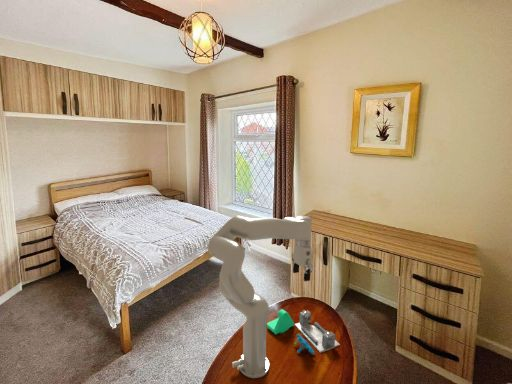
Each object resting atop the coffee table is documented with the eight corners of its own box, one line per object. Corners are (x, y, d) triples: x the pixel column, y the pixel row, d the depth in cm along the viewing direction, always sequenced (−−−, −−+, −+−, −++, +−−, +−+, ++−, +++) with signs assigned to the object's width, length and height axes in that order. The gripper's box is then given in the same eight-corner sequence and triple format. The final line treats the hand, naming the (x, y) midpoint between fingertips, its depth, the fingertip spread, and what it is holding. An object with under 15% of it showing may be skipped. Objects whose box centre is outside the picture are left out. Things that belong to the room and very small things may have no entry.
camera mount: (283, 319, 141) (284, 301, 140) (293, 327, 135) (294, 308, 133) (266, 328, 134) (266, 309, 133) (275, 336, 128) (276, 316, 126)
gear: (319, 355, 114) (305, 343, 111) (310, 366, 113) (295, 354, 110) (307, 339, 124) (294, 327, 121) (298, 348, 124) (285, 337, 121)
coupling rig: (320, 352, 117) (320, 338, 116) (294, 325, 136) (294, 312, 135) (339, 345, 121) (340, 331, 120) (312, 320, 140) (312, 307, 139)
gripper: (320, 246, 119) (318, 283, 121) (299, 236, 134) (298, 268, 136) (306, 248, 116) (304, 285, 118) (286, 237, 132) (285, 270, 133)
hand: (301, 276), depth 127 cm, fingers open, 9 cm apart
